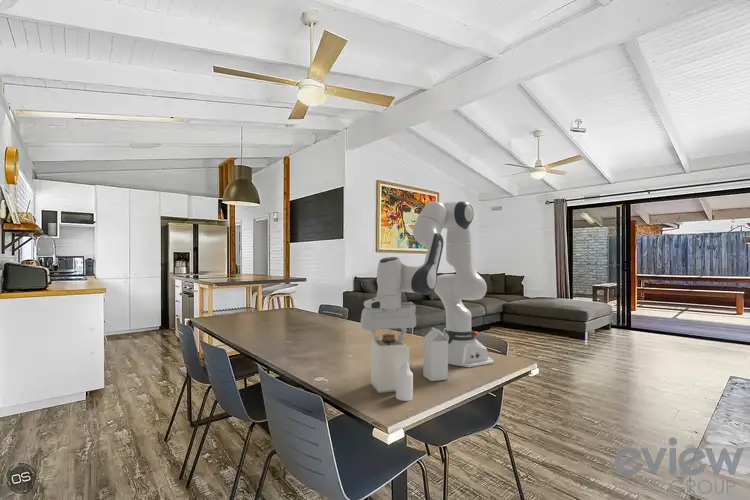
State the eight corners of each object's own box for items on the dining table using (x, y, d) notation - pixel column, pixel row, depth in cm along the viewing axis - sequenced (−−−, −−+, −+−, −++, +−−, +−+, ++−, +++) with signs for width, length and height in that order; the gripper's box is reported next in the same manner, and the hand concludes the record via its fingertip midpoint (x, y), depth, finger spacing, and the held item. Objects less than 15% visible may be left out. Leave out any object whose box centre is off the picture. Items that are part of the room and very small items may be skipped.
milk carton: (430, 381, 141) (431, 330, 141) (423, 375, 148) (423, 327, 148) (448, 380, 143) (448, 330, 143) (439, 374, 150) (440, 326, 150)
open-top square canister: (403, 380, 142) (403, 338, 142) (413, 389, 132) (414, 344, 132) (370, 383, 138) (371, 340, 138) (378, 393, 128) (379, 346, 129)
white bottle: (392, 360, 126) (406, 358, 129) (392, 396, 126) (406, 393, 129) (402, 364, 121) (417, 362, 124) (402, 402, 121) (416, 399, 123)
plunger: (394, 374, 140) (395, 332, 140) (402, 381, 132) (402, 336, 132) (374, 375, 137) (374, 333, 138) (380, 383, 130) (381, 337, 130)
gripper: (412, 300, 141) (412, 337, 141) (359, 302, 135) (359, 340, 135) (419, 302, 135) (418, 341, 135) (364, 304, 129) (363, 344, 129)
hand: (388, 340), depth 135 cm, fingers open, 8 cm apart
